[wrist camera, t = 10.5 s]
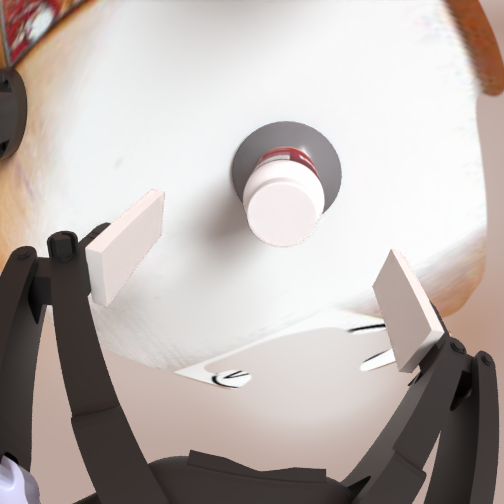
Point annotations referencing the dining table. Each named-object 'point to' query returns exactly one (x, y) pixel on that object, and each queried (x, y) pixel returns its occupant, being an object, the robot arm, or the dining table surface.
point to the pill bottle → (283, 197)
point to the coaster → (296, 138)
